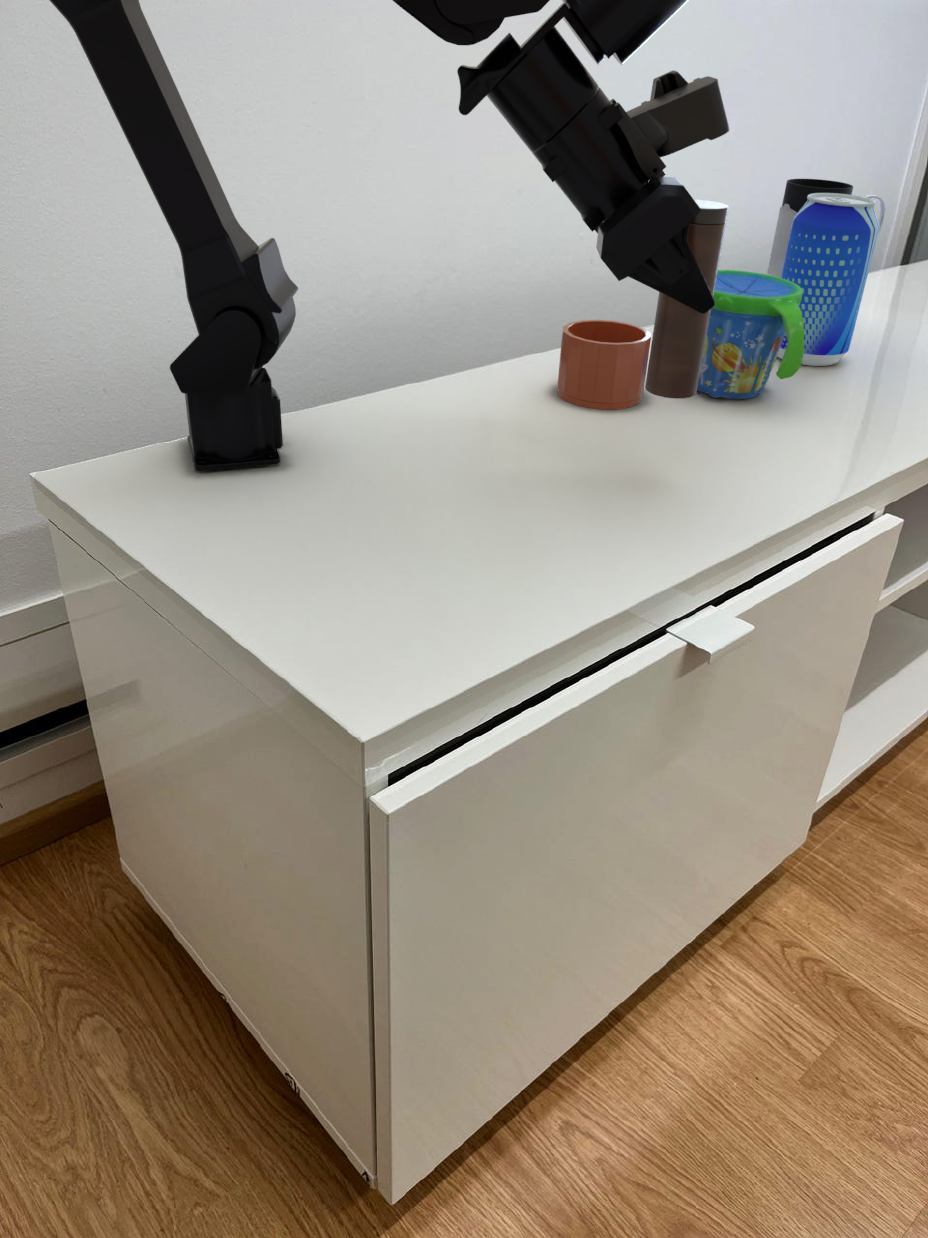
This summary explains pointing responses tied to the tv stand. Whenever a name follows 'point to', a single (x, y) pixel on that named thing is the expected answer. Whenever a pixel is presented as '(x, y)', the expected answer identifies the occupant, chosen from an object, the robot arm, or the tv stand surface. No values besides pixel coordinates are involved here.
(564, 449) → the tv stand surface
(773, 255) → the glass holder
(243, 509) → the tv stand surface
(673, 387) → the brown thermos bottle
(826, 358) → the beer can
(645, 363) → the terracotta cup
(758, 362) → the snack cup
